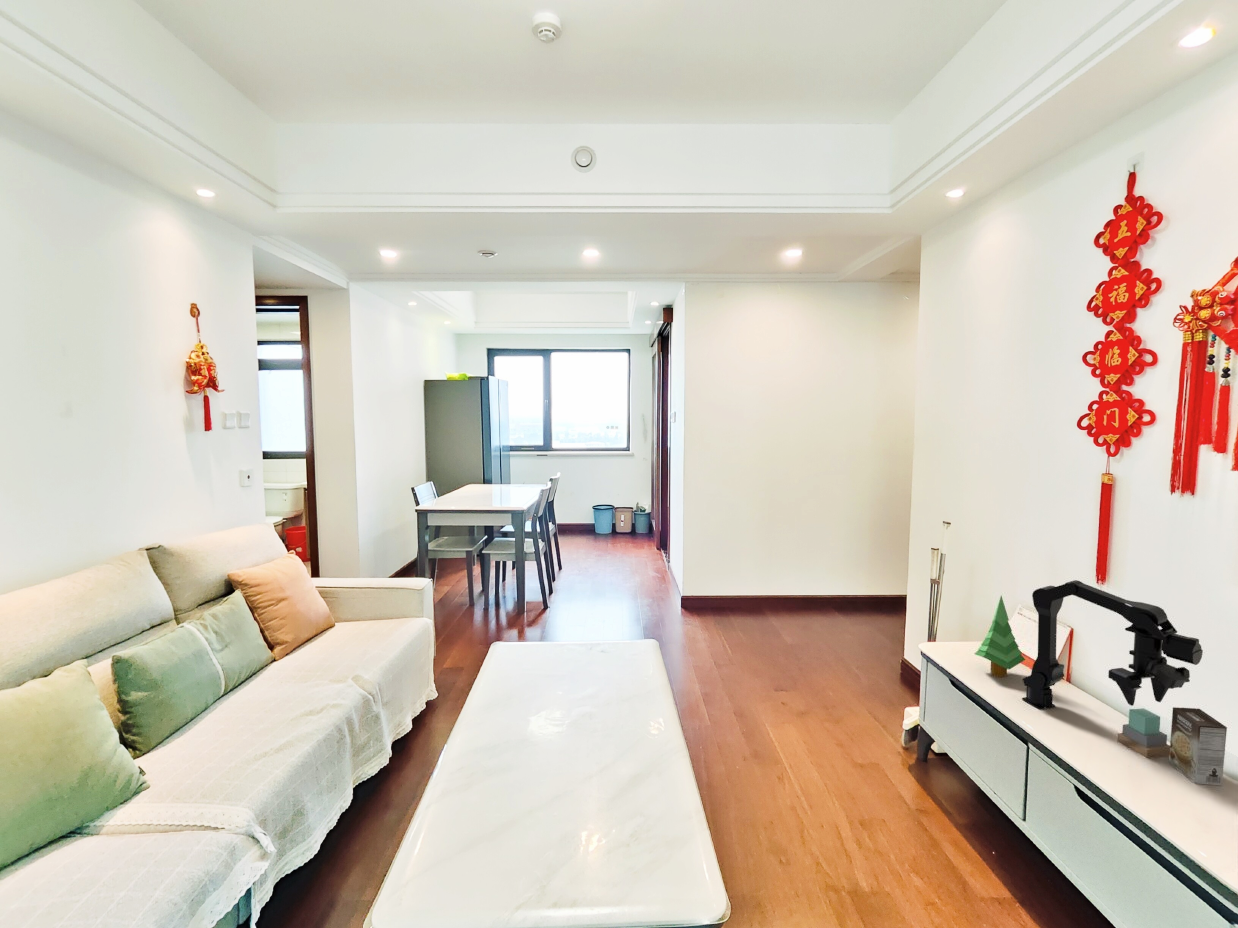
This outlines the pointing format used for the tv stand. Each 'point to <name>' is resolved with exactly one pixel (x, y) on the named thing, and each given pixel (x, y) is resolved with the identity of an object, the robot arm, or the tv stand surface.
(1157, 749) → the walnut base block
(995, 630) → the decorative tree
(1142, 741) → the charcoal middle block
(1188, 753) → the coffee box
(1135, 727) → the teal block
